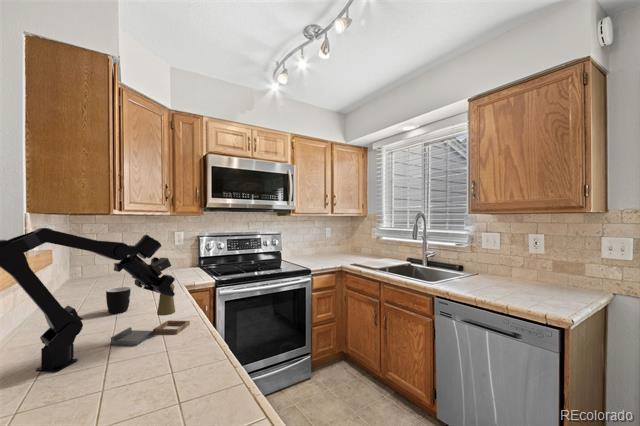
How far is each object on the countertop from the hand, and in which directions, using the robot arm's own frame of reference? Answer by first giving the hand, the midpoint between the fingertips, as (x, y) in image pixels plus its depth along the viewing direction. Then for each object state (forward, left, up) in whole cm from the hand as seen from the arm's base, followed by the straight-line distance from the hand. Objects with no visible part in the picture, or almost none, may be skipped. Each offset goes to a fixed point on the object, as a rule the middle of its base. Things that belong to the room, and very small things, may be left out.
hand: (170, 294), depth 108 cm
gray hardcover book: (-9, +8, -13) cm, 18 cm away
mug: (+20, +37, -13) cm, 44 cm away
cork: (-1, +1, -7) cm, 7 cm away
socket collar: (+1, 0, -13) cm, 13 cm away
